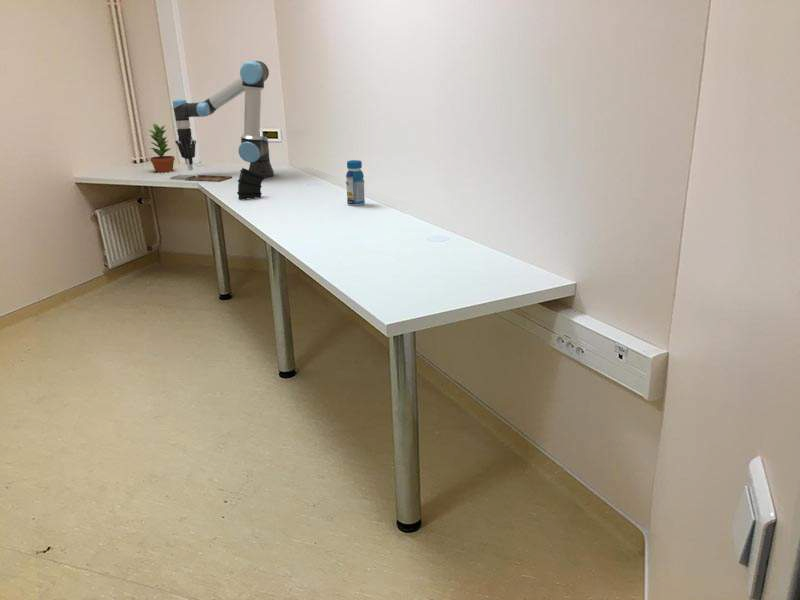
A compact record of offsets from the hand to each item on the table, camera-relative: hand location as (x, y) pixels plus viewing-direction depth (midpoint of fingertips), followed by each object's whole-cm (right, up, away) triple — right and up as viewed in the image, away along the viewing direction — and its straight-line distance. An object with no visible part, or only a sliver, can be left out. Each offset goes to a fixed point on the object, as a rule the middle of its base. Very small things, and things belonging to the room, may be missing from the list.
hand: (190, 169), depth 361 cm
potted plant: (-28, +6, +35) cm, 45 cm away
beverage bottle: (+101, -31, -70) cm, 127 cm away
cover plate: (-5, -5, +4) cm, 9 cm away
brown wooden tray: (+11, -7, -1) cm, 13 cm away
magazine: (+48, -25, -51) cm, 74 cm away
